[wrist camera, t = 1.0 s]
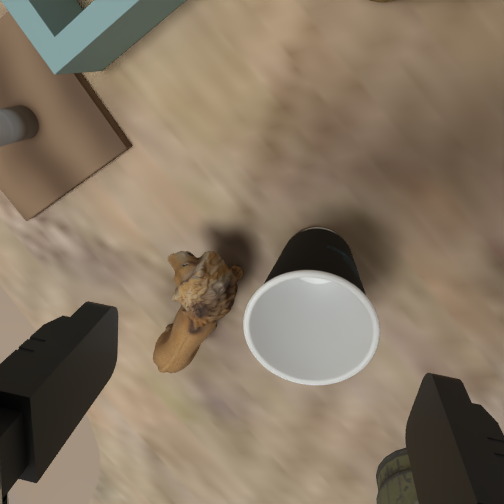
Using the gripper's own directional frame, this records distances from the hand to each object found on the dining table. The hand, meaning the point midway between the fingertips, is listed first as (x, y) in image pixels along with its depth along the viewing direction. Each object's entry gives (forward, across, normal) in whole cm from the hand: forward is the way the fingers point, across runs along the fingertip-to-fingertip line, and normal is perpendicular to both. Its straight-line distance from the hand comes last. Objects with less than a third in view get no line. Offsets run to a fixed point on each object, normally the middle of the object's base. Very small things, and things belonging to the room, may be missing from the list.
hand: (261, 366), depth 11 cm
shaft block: (+24, +22, 0) cm, 32 cm away
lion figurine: (+24, +7, +12) cm, 28 cm away
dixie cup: (+24, -2, +6) cm, 25 cm away
